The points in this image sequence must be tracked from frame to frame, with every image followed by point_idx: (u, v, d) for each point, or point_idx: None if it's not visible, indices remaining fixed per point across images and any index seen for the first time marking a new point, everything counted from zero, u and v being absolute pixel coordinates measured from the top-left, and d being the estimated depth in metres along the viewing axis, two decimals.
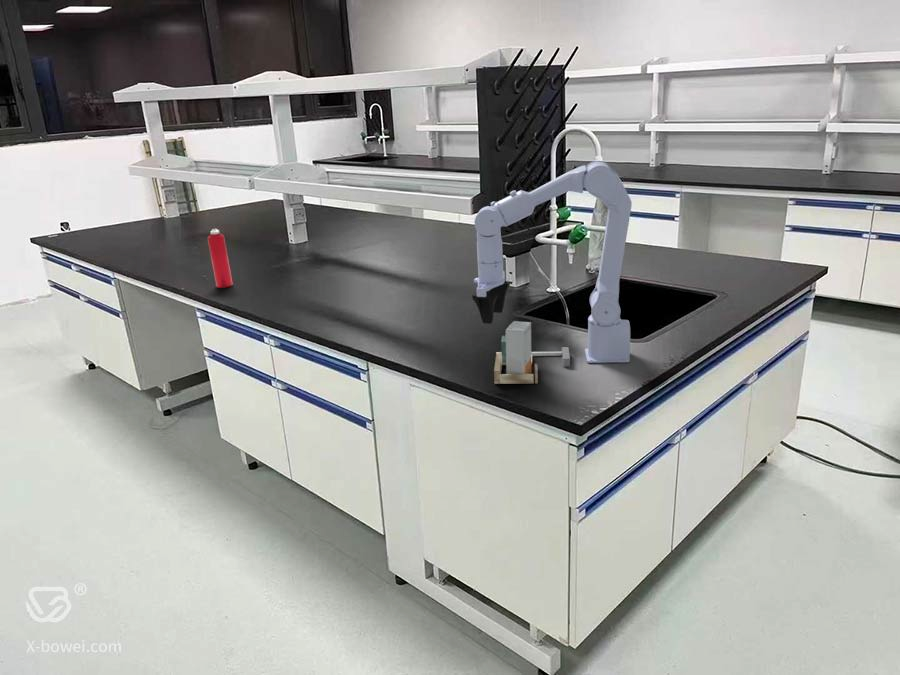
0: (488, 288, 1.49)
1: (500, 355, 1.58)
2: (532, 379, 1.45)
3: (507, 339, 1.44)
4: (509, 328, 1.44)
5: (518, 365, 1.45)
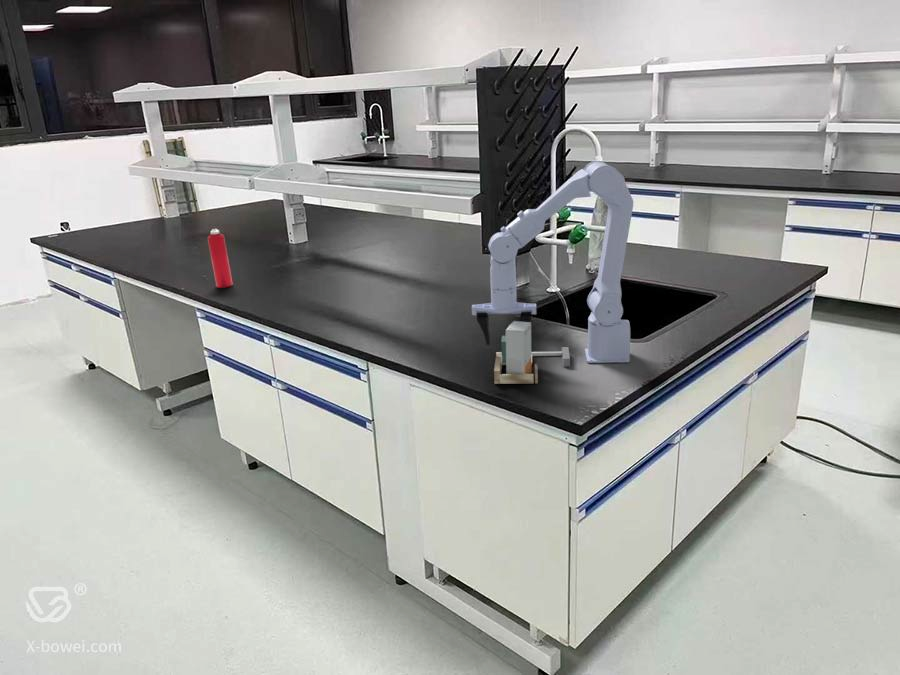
0: (479, 309, 1.52)
1: (500, 355, 1.58)
2: (532, 379, 1.45)
3: (507, 339, 1.44)
4: (509, 328, 1.44)
5: (518, 365, 1.45)
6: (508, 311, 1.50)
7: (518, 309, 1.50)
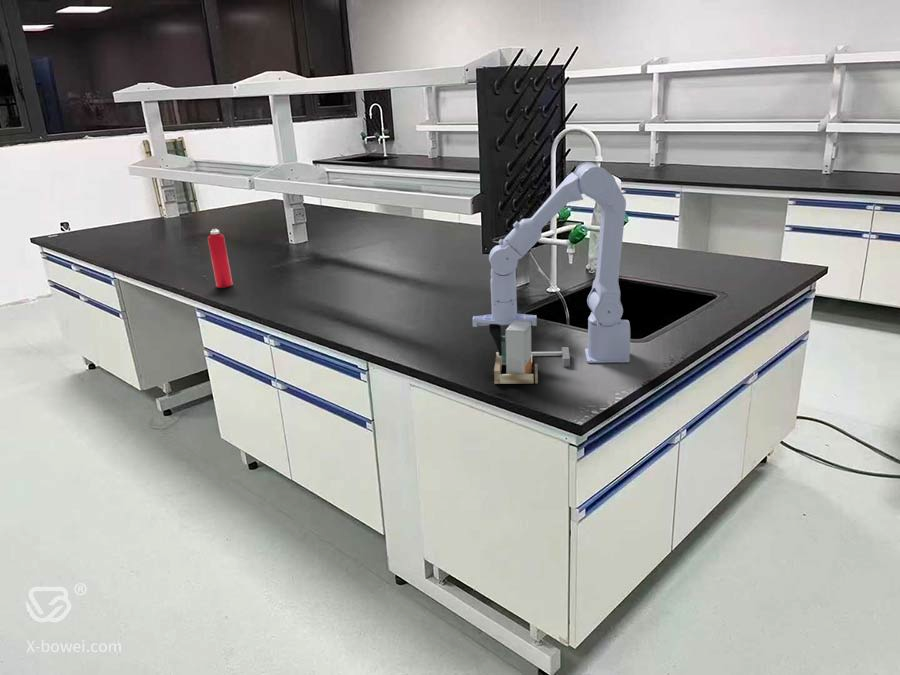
0: (479, 320, 1.53)
1: None
2: (532, 379, 1.45)
3: (507, 339, 1.44)
4: (509, 328, 1.44)
5: (518, 365, 1.45)
6: (508, 323, 1.51)
7: None
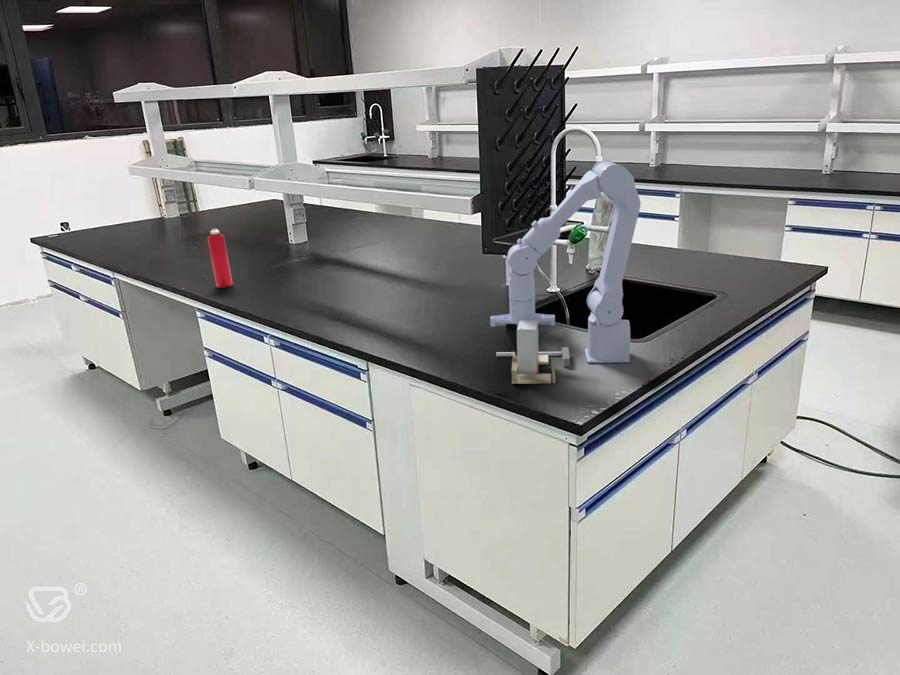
0: (497, 320, 1.53)
1: None
2: (550, 379, 1.44)
3: (518, 339, 1.44)
4: (520, 328, 1.44)
5: (530, 364, 1.45)
6: None
7: (537, 320, 1.51)
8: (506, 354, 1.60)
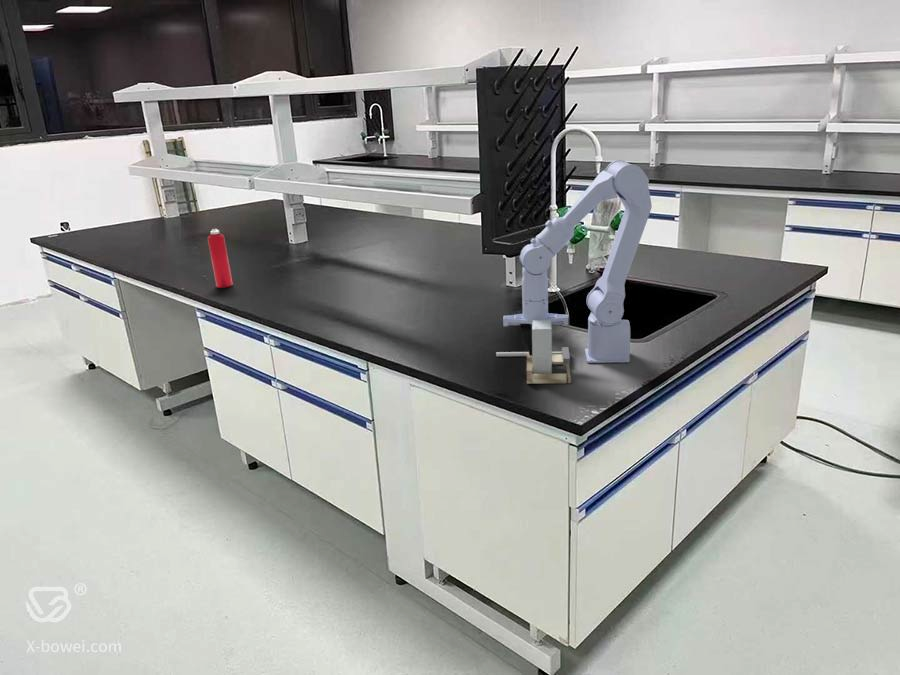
0: (510, 320, 1.52)
1: None
2: (565, 379, 1.44)
3: (534, 339, 1.43)
4: (535, 327, 1.43)
5: (545, 364, 1.45)
6: None
7: None
8: (506, 354, 1.60)
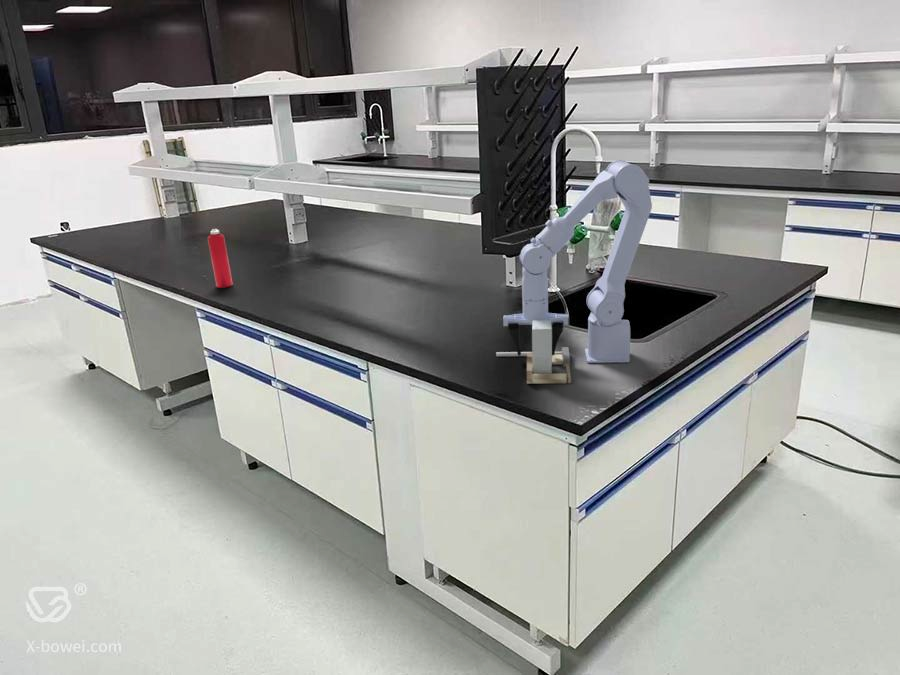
0: (510, 320, 1.52)
1: (530, 355, 1.57)
2: (565, 379, 1.44)
3: (534, 339, 1.43)
4: (535, 327, 1.43)
5: (545, 364, 1.45)
6: None
7: None
8: (506, 354, 1.60)
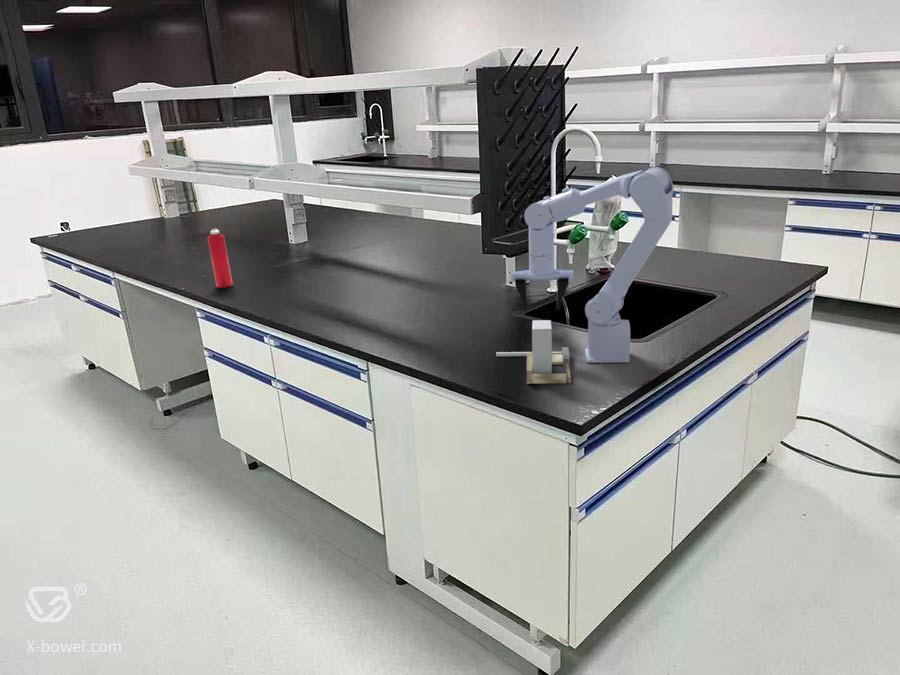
0: (517, 275, 1.57)
1: (530, 355, 1.57)
2: (565, 379, 1.44)
3: (534, 339, 1.43)
4: (535, 327, 1.43)
5: (545, 364, 1.45)
6: (546, 277, 1.55)
7: (556, 275, 1.55)
8: (506, 354, 1.60)
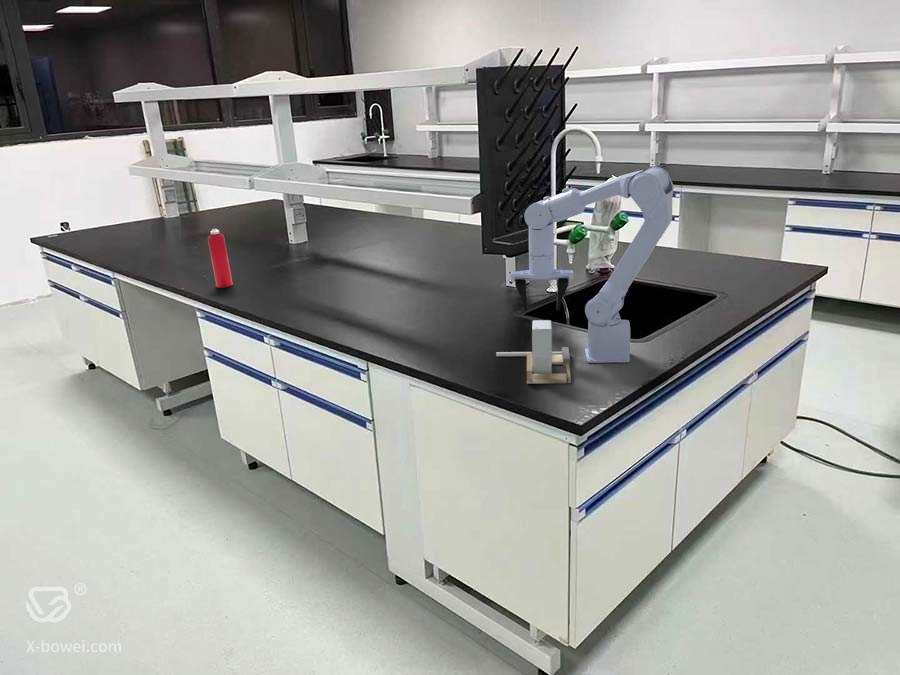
0: (517, 275, 1.57)
1: (530, 355, 1.57)
2: (565, 379, 1.44)
3: (534, 339, 1.43)
4: (535, 327, 1.43)
5: (545, 364, 1.45)
6: (546, 277, 1.55)
7: (556, 275, 1.55)
8: (506, 354, 1.60)
